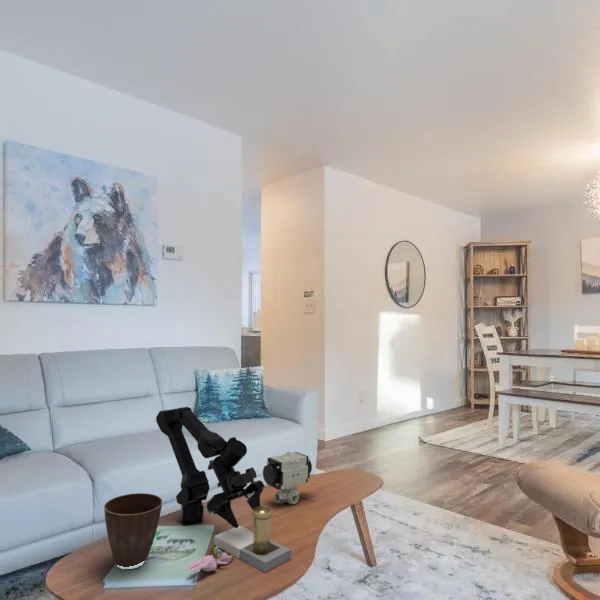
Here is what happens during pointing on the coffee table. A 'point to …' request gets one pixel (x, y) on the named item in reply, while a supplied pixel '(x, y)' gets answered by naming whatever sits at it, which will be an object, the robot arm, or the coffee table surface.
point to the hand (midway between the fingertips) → (249, 522)
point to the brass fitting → (262, 530)
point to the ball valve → (287, 475)
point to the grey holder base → (242, 545)
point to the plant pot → (132, 526)
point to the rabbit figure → (211, 561)
